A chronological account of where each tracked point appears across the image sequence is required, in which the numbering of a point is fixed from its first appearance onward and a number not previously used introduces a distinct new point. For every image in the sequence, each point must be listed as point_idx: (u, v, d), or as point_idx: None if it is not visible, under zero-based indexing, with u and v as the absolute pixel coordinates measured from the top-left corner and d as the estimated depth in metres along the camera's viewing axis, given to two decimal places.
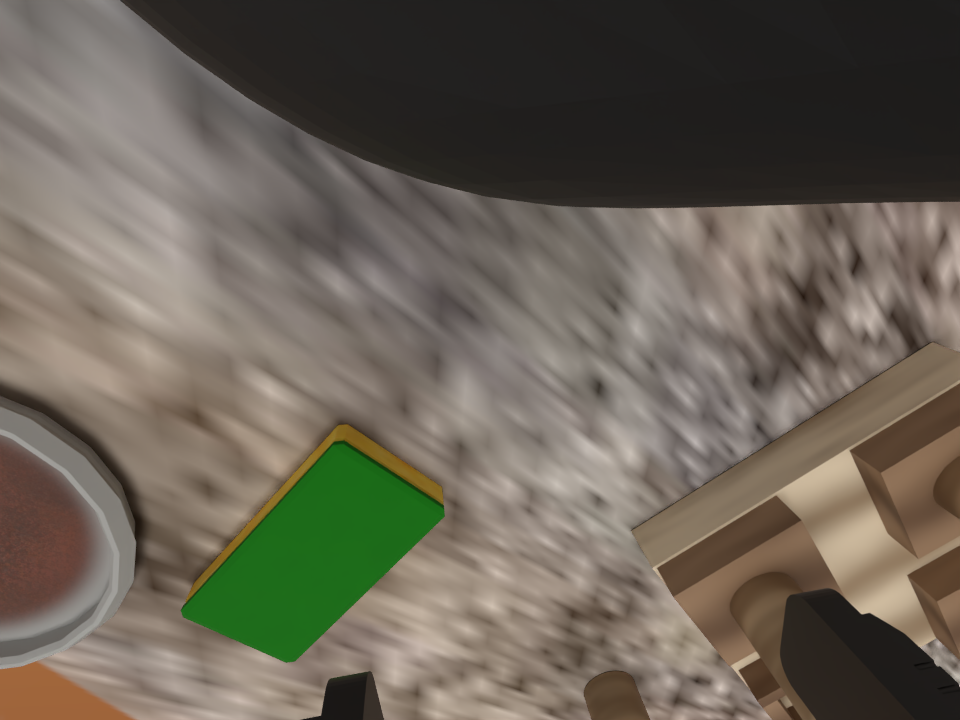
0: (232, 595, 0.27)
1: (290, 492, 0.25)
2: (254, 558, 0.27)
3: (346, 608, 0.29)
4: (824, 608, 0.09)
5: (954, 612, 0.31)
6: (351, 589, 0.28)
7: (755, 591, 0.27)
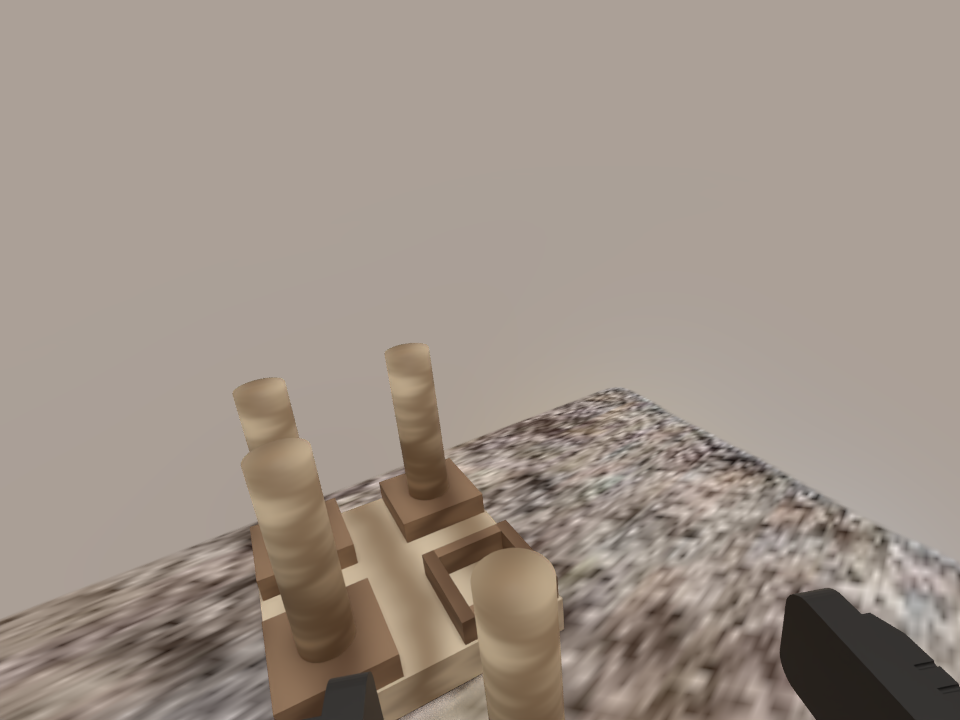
0: None
1: None
2: None
3: None
4: (824, 608, 0.09)
5: (421, 512, 0.46)
6: None
7: (295, 644, 0.33)
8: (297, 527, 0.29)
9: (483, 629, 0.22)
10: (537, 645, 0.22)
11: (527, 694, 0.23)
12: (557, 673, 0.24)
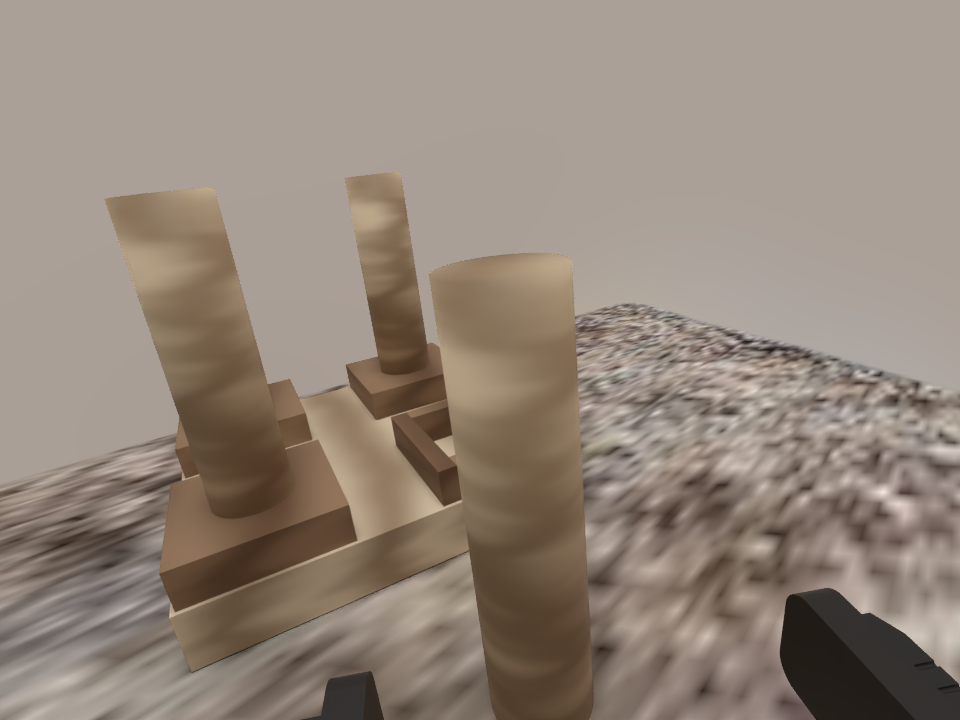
0: None
1: None
2: None
3: None
4: (824, 608, 0.09)
5: (394, 384, 0.37)
6: None
7: (206, 496, 0.24)
8: (190, 295, 0.20)
9: (450, 341, 0.13)
10: (542, 359, 0.13)
11: (526, 459, 0.14)
12: (575, 437, 0.14)
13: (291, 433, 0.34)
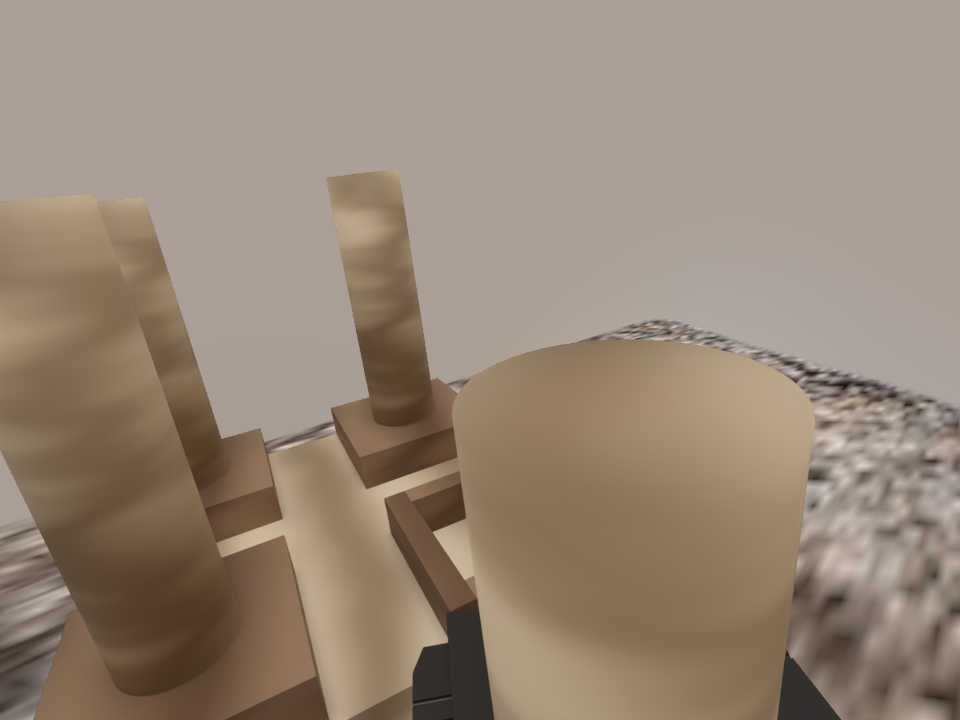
0: None
1: None
2: None
3: None
4: None
5: (389, 441, 0.29)
6: None
7: None
8: (43, 374, 0.12)
9: (508, 592, 0.05)
10: (747, 659, 0.05)
11: None
12: None
13: (254, 513, 0.26)
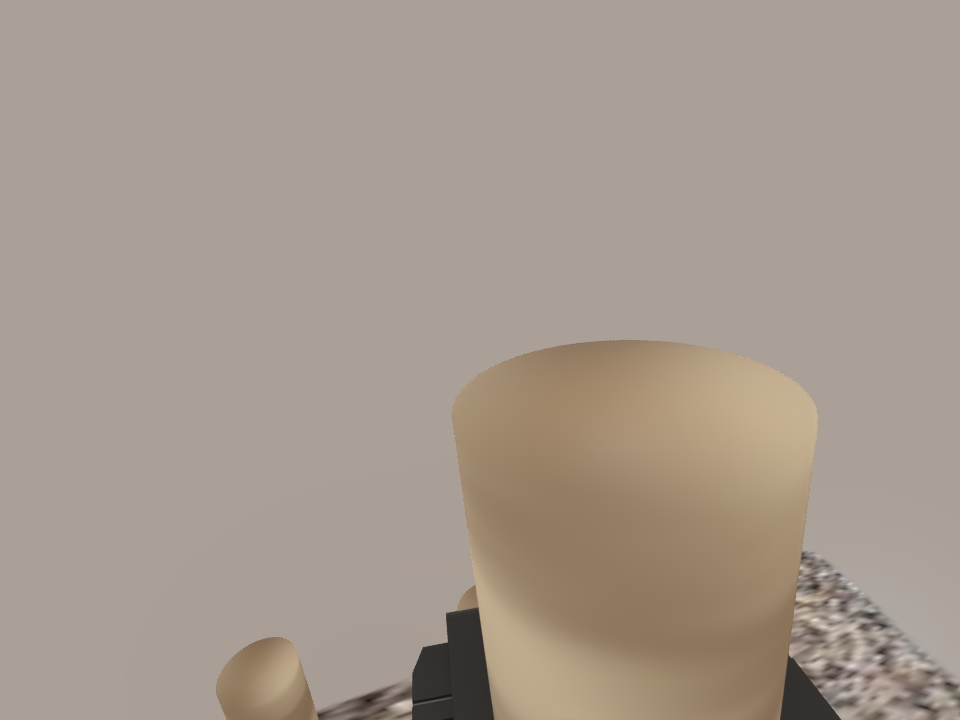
0: None
1: None
2: None
3: None
4: None
5: None
6: None
7: None
8: None
9: (508, 595, 0.05)
10: (750, 663, 0.05)
11: None
12: None
13: None
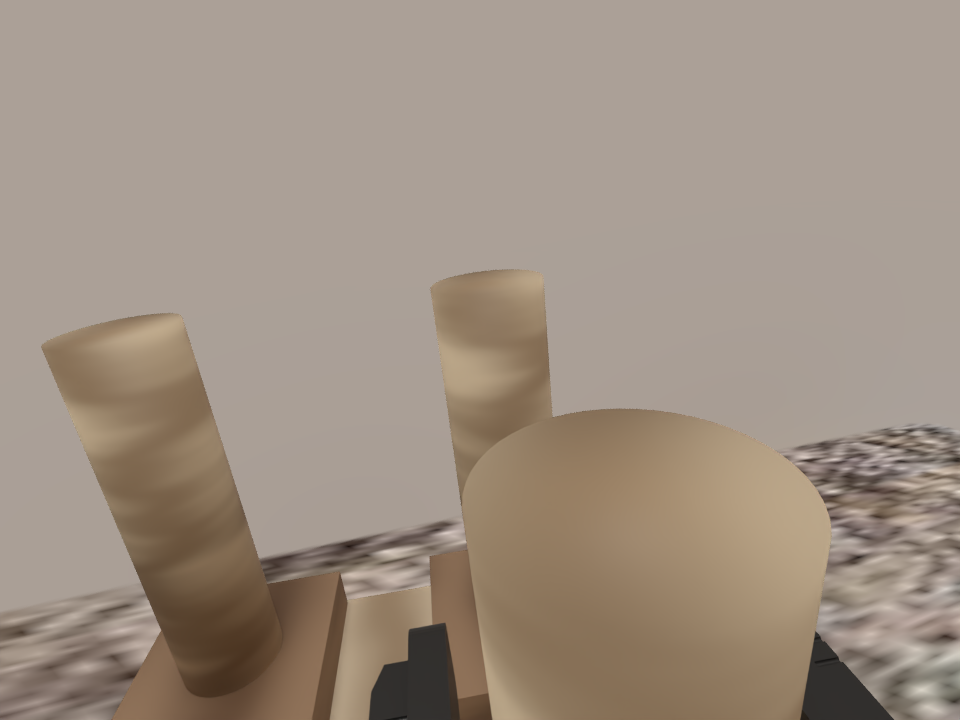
0: None
1: None
2: None
3: None
4: None
5: (484, 676, 0.19)
6: None
7: None
8: None
9: (518, 695, 0.05)
10: None
11: None
12: None
13: None
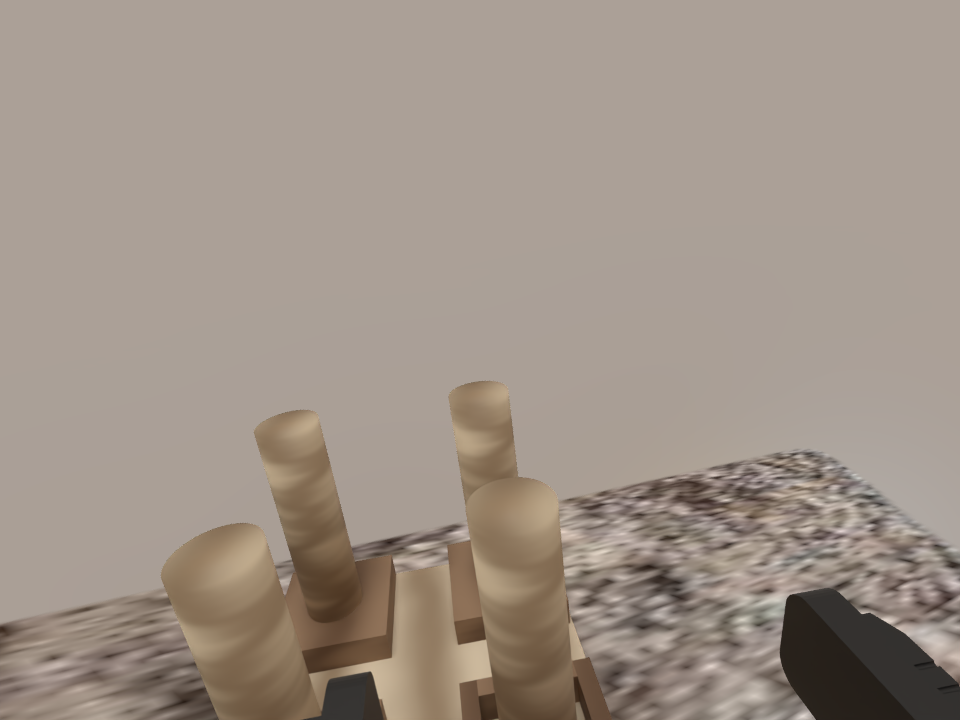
0: None
1: None
2: None
3: None
4: (824, 608, 0.09)
5: (480, 608, 0.34)
6: None
7: None
8: (226, 665, 0.20)
9: (480, 557, 0.21)
10: (539, 572, 0.20)
11: (529, 629, 0.21)
12: (562, 609, 0.22)
13: (371, 651, 0.33)
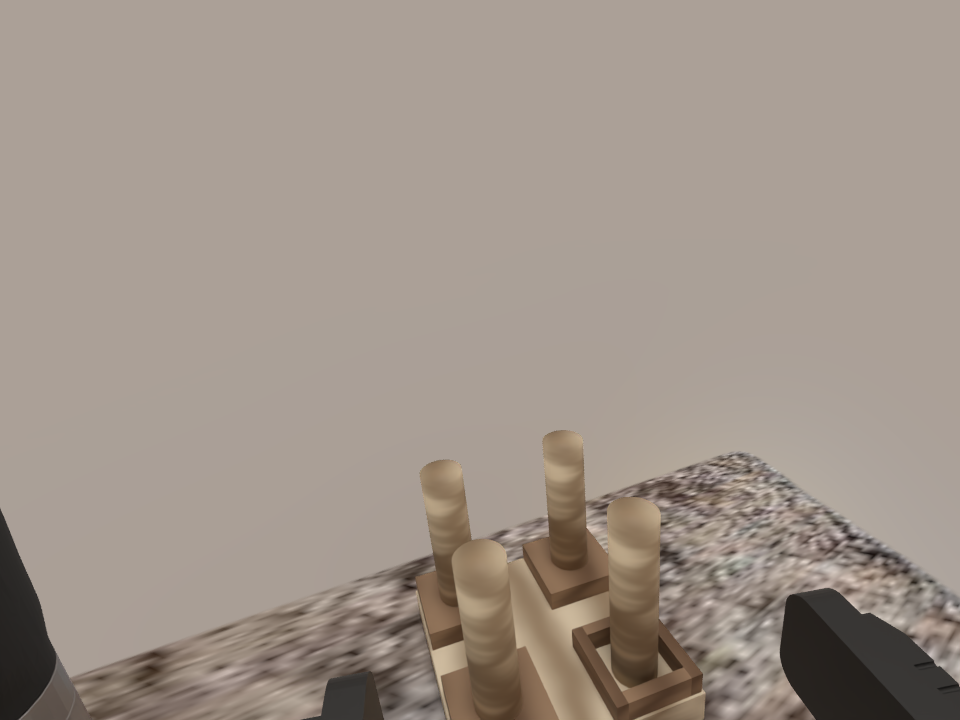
0: None
1: None
2: None
3: None
4: (824, 608, 0.09)
5: (565, 583, 0.51)
6: None
7: (474, 705, 0.40)
8: (493, 620, 0.35)
9: (621, 544, 0.37)
10: (654, 548, 0.37)
11: (647, 581, 0.38)
12: (659, 568, 0.39)
13: None
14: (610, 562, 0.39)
